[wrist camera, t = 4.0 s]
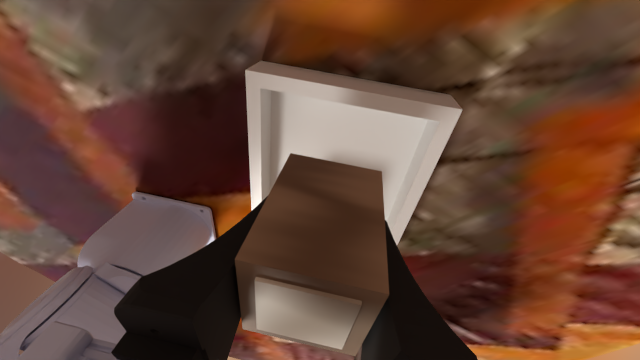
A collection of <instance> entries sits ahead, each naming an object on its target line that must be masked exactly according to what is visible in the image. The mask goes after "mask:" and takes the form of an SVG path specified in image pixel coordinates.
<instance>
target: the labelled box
mask: <svg viewBox="0 0 640 360" xmlns="http://www.w3.org/2000/svg"><path fill="white" fill-rule="evenodd" d="M235 267H236V275H237V284H238V293H239V301H240V310H241V318H242V327H243V329H245V330H249V331H253V332H257V333H261V334H265V335H270V336H274V337H278V338H282V339H286V340H290V341H294V342H298V343H303V344H307V345H311V346H315V347H319V348H323V349H327V350H331V351H336V352H340V353H344V354H348V355H352V356H356V354H357V352H358V350H359V349H360V347H361V345H362V343H363V341H364V340H365V338H366V336H367V334H368V332H369V330H370V329H371V327H372V325H373V323H374V321H375V320H376V318H377V316H378V314H379V312H380V310H381V309H382V307H383V305H384V303H385V301H386V300H387V298H388V296H389V281H388V264H387V248H386V231H385V214H384V198H383V181H382V171H378V170H373V169H368V168H363V167H358V166H353V165H348V164H343V163H338V162H333V161H328V160H323V159H318V158H313V157H308V156H303V155H298V154H293V153H290V155H289V157H288V159H287V161H286V163H285V165H284V166H283V168H282V170H281V172H280V174H279V176H278V178H277V180H276V182H275V184H274V185H273V187H272V189H271V191H270V193H269V195H268V197H267V199H266V201H265V203H264V205H263V206H262V208H261V210H260V212H259V214H258V216H257V218H256V220H255V222H254V224H253V225H252V227H251V229H250V231H249V233H248V235H247V237H246V239H245V241H244V243H243V244H242V246H241V248H240V250H239V252H238V254H237V256H236V258H235Z"/></svg>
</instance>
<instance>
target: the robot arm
mask: <svg viewBox="0 0 640 360" xmlns="http://www.w3.org/2000/svg"><path fill="white" fill-rule="evenodd" d="M132 197H133V199H134V200H133V201H131V202H130V203H129V204H128V205H127V206H126V207H124V208H123V209H122V210H121V211H120V212H118V213H117V214H116V215H115V216H114V217H113V218H111V219H110V220H109V221H108V222H107V223H106V224H104V225H103V226H102V227H101V228H100V229H98V230H97V231H96V232H95V233H94V234H93V235H92V236H91V237H90V238H89V239H88V240H87V242H86V243H85V244H84V246H83V248H82V250H81V252H80V254H79V257H78V267H77V268H74V269H72V270H71V271H69V272H68V273H67V274H65V275H64V276H63V277H61V278H60V279H59V280H58V281H57V282H55V283H54V284H53V285H52V286H51V287H49V288H48V289H47V290H46V291H45V292H44V293H42V294H41V295H40V296H39V297H38V298H37V299H36V300H34V301H33V302H32V303H31V304H30V305H29V306H28V307H27V308H26V309H25V310H23V311H22V312H21V313H20V314H19V315H18V316H17V317H16V318H15V319H14V320H13V321H12V322H11V323H10V324H9V325H8V326H7V327H6V328H5V330H4V331H3V332H2V333H1V334H0V360H227V358H228V355H229V352H230V349H231V345H232V342H233V339H234V336H235V333H236V330H237V327H238V324H239V321H240V318H241V310H240V301H239V293H238V284H237V275H236V267H235V258H236V256H237V254H238V252H239V250H240V248H241V246H242V244H243V243H244V241H245V239H246V237H247V235H248V233H249V231H250V229H251V227H252V225H253V224H254V222H255V220H256V218H257V216H258V214H259V212H260V210H261V208H262V206H263V205H264V203H265V201H266V199H267V197H268V196H267V197H266V198H265V199H264V200H263V201H262V202H261V203H260V204H259V205H258V206H257V207H255V208H254V209H253V210H252V211H251V212H250V213H249V214H248V215H247V216H245V217H244V218H243V219H242V220H241V221H240V222H238V223H237V224H236V225H235V226H233V227H232V228H231V229H230V230H228V231H227V232H226V233H224V234H223V235H221V236H220V237H219V238H217V239H216V234H215V228H214V222H213V216H212V211H211V209H210V208H209V207H206V206H201V205H196V204H192V203H187V202H183V201H178V200H173V199H169V198H164V197H159V196H155V195H150V194H146V193H141V192H134V193H132ZM385 231H386V248H387V264H388V281H389V296H388V298H387V300H386V301H385V303H384V305H383V307H382V309H381V310H380V312H379V314H378V316H377V318H376V320H375V321H374V323H373V325H372V327H371V329H370V330H369V332H368V334H367V336H366V338H365V340H364V341H363V343H362V351H361V360H477V357H476V355H475V354H474V353H473V352H472V351H471V350H470V349H469V348H468V347H467V346H466V345H465V344H464V342H463V341H462V340H461V339H460V338H459V337H458V336H457V335H456V334H455V333H454V332H453V331H452V329H451V328H450V327H449V326H448V325H447V324H446V322H445V321H444V320H443V319H442V317H441V316H440V315H439V314H438V312H437V311H436V310H435V308H434V307H433V306H432V304H431V303H430V302H429V300H428V299H427V298H426V296H425V295H424V293H423V292H422V290H421V289H420V287H419V286H418V284H417V283H416V281H415V279H414V278H413V276H412V274H411V273H410V271H409V269H408V267H407V265H406V264H405V262H404V260H403V258H402V256H401V254H400V251H399V249H398V247H397V245H396V243H395V241H394V238H393V236H392V233H391V231H390V228H389V226H388V223H387V221H386V220H385ZM19 349H21V350H23V351H24V352H23V353H22V354H21V355H19V354H18V353H19Z"/></svg>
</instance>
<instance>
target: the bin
mask: <svg viewBox="0 0 640 360" xmlns="http://www.w3.org/2000/svg"><path fill="white" fill-rule="evenodd" d="M245 76H246V98H247V121H248V143H249V165H250V188H251V210H253V209H254V208H255V207H257V206H258V205H259V204H260V203H261V202H262V201H263V200H264V199H265V198H266V197H267V196H268V195H269V193H270V191H271V189H272V187H273V185H274V184H275V182H276V180H277V178H278V176H279V174H280V172H281V170H282V168H283V166H284V165H285V163H286V161H287V159H288V157H289V155H290V153H293V154H298V155H303V156H308V157H313V158H318V159H323V160H328V161H333V162H338V163H343V164H348V165H353V166H358V167H363V168H368V169H373V170H378V171H382V181H383V198H384V214H385V220H386V221H387V223H388V226H389V228H390V231H391V233H392V236H393V238H394V241H395V243H396V245H398V243H399V241H400V239H401V236H402V234H403V232H404V230H405V228H406V226H407V224H408V222H409V220H410V218H411V216H412V214H413V212H414V210H415V207H416V205H417V203H418V201H419V199H420V197H421V195H422V193H423V191H424V189H425V187H426V185H427V183H428V181H429V179H430V176H431V174H432V172H433V170H434V168H435V166H436V164H437V162H438V160H439V158H440V156H441V154H442V152H443V150H444V148H445V145H446V143H447V141H448V139H449V137H450V135H451V133H452V131H453V129H454V127H455V125H456V123H457V121H458V119H459V116H460V114H461V112H462V110H463V109H462V108H461V107H460V106H459V104H458V103H457V102H456V101H455V99H454V98H453V97H452V96H451V95H449V94H443V93H438V92H432V91H427V90H421V89H416V88H410V87H405V86H399V85H393V84H388V83H382V82H377V81H371V80H366V79H360V78H355V77H349V76H344V75H338V74H332V73H327V72H321V71H316V70H310V69H305V68H299V67H294V66H288V65H282V64H277V63H271V62H266V61H260V62H258V63H256V64H255V65H253V66H251V67H249V68H248V69H246V70H245Z"/></svg>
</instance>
